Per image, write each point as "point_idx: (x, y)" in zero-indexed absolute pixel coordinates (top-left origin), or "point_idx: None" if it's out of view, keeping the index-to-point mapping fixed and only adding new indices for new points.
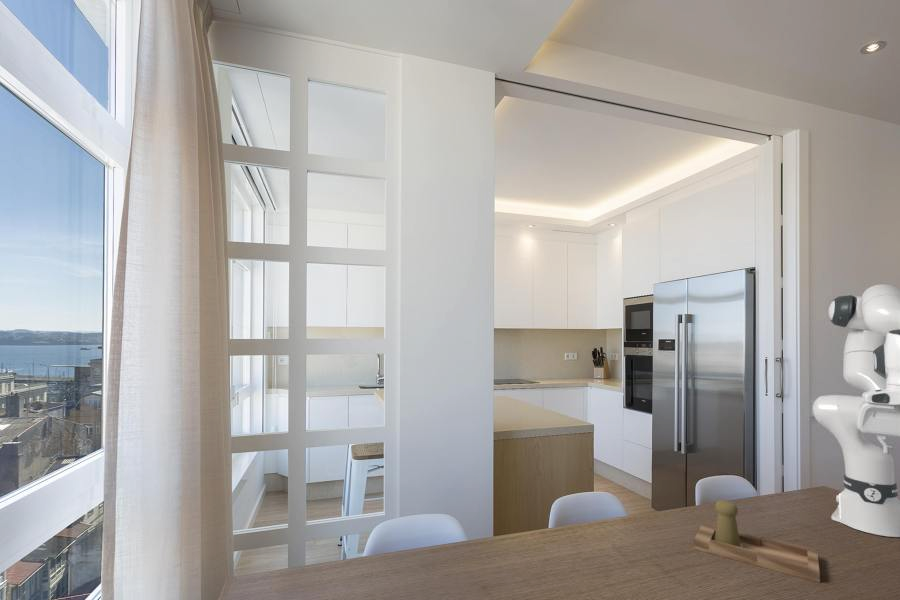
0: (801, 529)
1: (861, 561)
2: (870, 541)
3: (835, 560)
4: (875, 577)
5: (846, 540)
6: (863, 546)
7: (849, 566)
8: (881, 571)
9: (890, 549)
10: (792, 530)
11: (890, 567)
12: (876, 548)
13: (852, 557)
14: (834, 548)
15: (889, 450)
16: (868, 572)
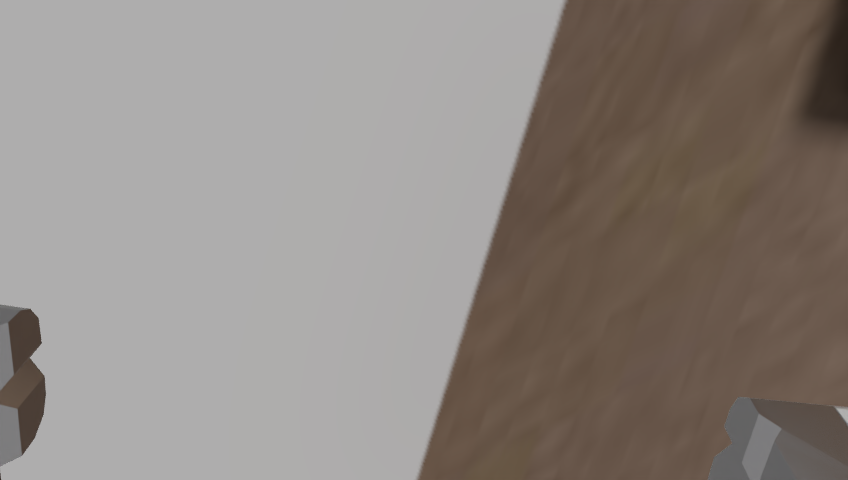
0: None
1: (624, 198)
2: (499, 473)
3: (753, 139)
4: (627, 16)
5: (604, 433)
6: (550, 397)
7: (709, 95)
8: (571, 118)
9: (442, 421)
10: None
11: (512, 196)
12: (499, 402)
13: (651, 228)
14: (699, 301)
15: (824, 444)
16: (640, 66)
